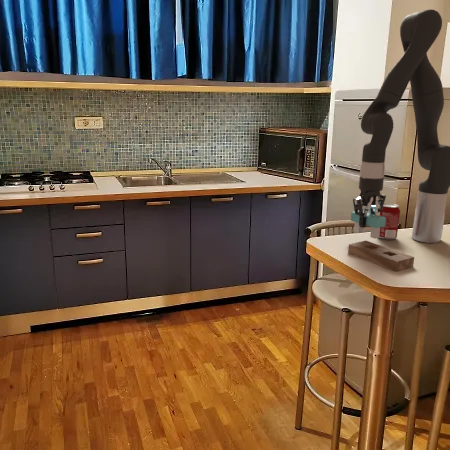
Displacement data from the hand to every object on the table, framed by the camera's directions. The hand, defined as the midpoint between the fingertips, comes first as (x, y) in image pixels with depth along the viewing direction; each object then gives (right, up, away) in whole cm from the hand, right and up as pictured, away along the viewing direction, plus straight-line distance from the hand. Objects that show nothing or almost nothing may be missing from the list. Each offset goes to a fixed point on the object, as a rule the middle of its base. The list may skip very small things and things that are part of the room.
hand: (367, 225), depth 151 cm
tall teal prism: (0, -3, +1) cm, 3 cm away
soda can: (+10, -4, +9) cm, 14 cm away
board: (0, -10, -13) cm, 17 cm away
